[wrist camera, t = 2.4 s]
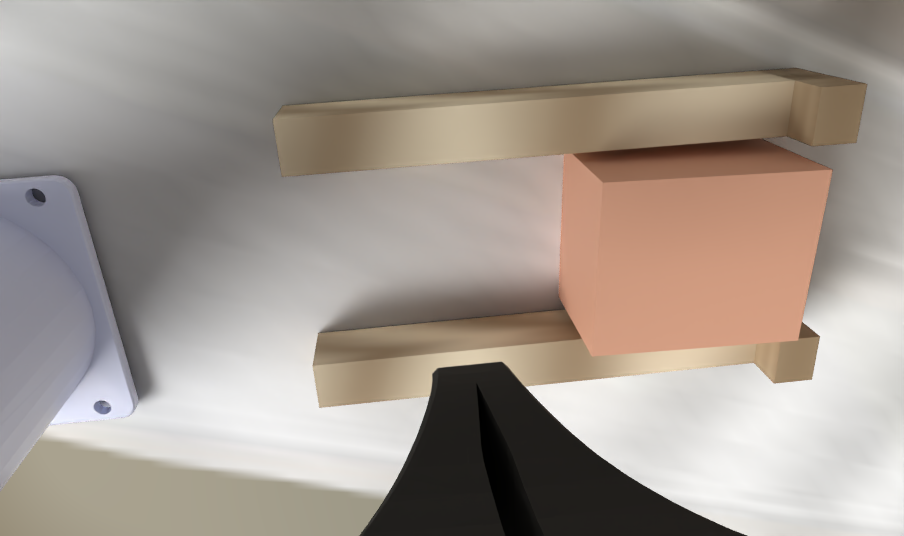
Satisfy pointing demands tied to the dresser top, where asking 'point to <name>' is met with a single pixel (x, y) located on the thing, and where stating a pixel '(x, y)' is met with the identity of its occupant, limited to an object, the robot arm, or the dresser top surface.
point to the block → (689, 245)
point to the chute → (541, 134)
